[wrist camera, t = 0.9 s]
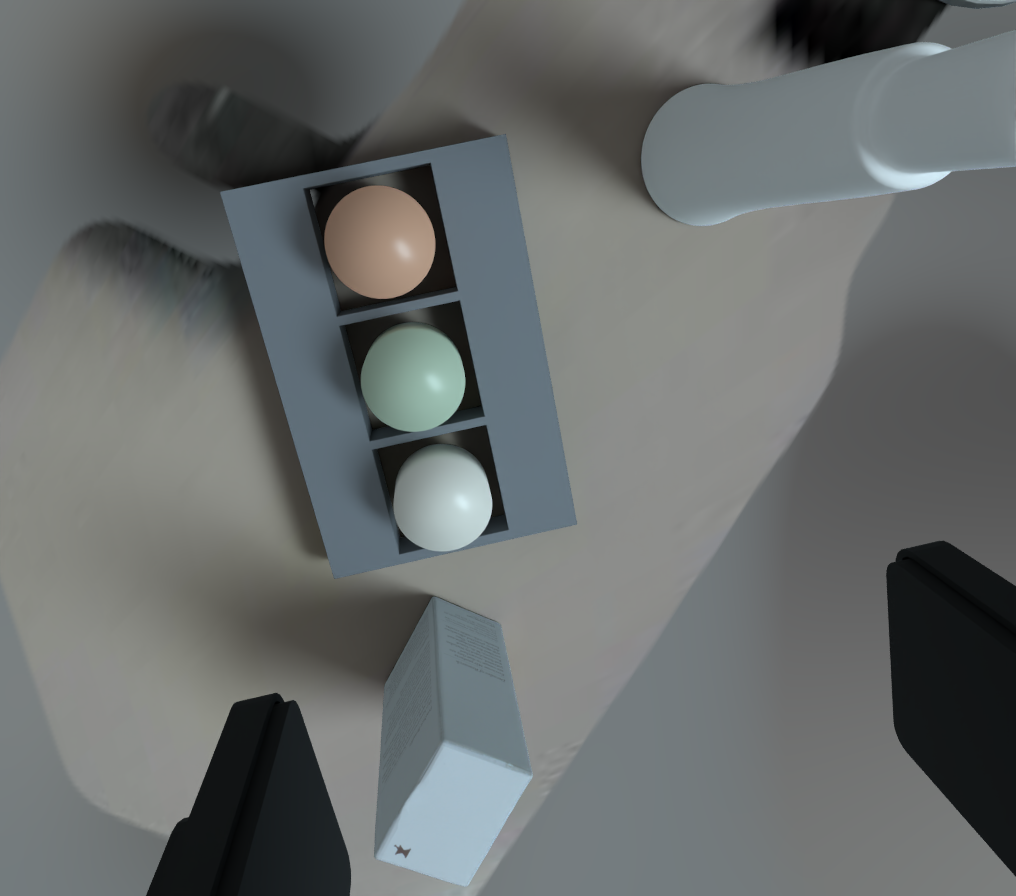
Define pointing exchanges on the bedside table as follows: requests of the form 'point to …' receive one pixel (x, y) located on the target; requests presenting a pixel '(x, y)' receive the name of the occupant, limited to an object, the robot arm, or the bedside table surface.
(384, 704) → the skincare box
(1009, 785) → the robot arm
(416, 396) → the sage button
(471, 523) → the ivory button
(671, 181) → the cosmetic bottle
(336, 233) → the terracotta button
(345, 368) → the button board
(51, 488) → the bedside table surface
